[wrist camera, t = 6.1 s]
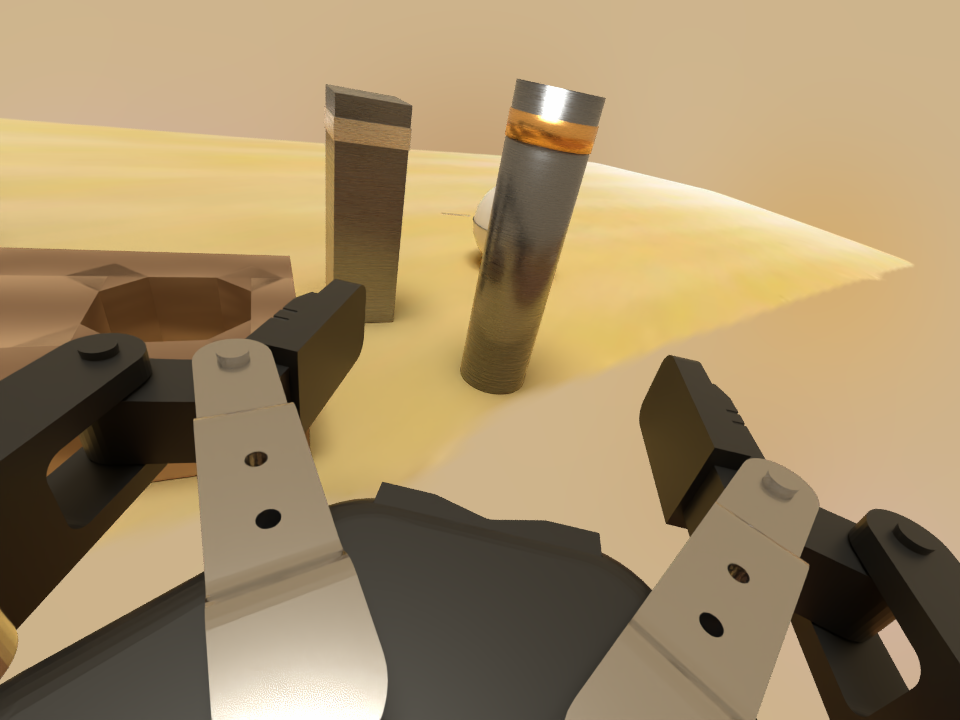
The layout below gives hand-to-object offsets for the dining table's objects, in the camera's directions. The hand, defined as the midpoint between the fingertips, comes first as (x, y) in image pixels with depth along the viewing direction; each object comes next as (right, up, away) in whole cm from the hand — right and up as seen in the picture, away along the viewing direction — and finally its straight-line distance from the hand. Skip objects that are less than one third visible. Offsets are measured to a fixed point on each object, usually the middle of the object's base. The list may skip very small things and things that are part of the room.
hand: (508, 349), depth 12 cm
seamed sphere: (0, +8, +28) cm, 29 cm away
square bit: (-9, +3, +17) cm, 19 cm away
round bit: (0, -1, +13) cm, 13 cm away
